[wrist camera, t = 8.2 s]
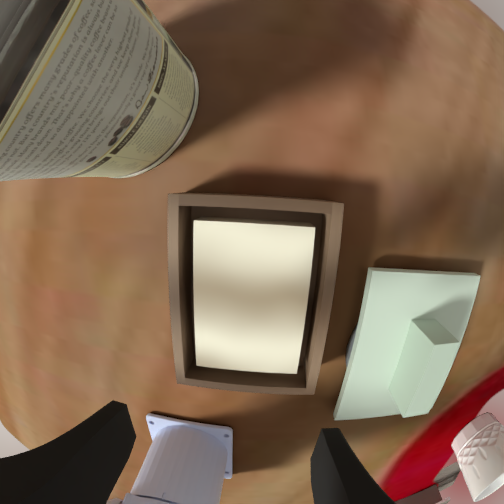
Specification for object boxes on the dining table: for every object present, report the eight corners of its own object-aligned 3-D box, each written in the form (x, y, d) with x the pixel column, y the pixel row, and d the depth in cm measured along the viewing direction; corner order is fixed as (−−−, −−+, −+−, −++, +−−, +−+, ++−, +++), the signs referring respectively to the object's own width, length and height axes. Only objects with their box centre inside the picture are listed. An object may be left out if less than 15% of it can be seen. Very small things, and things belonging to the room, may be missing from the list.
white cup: (437, 457, 22) (461, 510, 12) (464, 417, 20) (499, 473, 11) (478, 441, 22) (504, 486, 12) (503, 401, 20) (538, 446, 10)
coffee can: (61, 172, 17) (-100, 186, 3) (93, 49, 15) (-31, -19, 1) (181, 190, 17) (-24, 216, 3) (217, 44, 15) (141, -119, 1)
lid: (428, 402, 19) (446, 432, 15) (333, 413, 20) (341, 452, 15) (474, 272, 16) (509, 291, 12) (368, 267, 17) (395, 291, 12)
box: (309, 368, 19) (314, 394, 16) (188, 359, 20) (176, 383, 17) (331, 200, 16) (343, 203, 14) (184, 192, 17) (168, 193, 14)
